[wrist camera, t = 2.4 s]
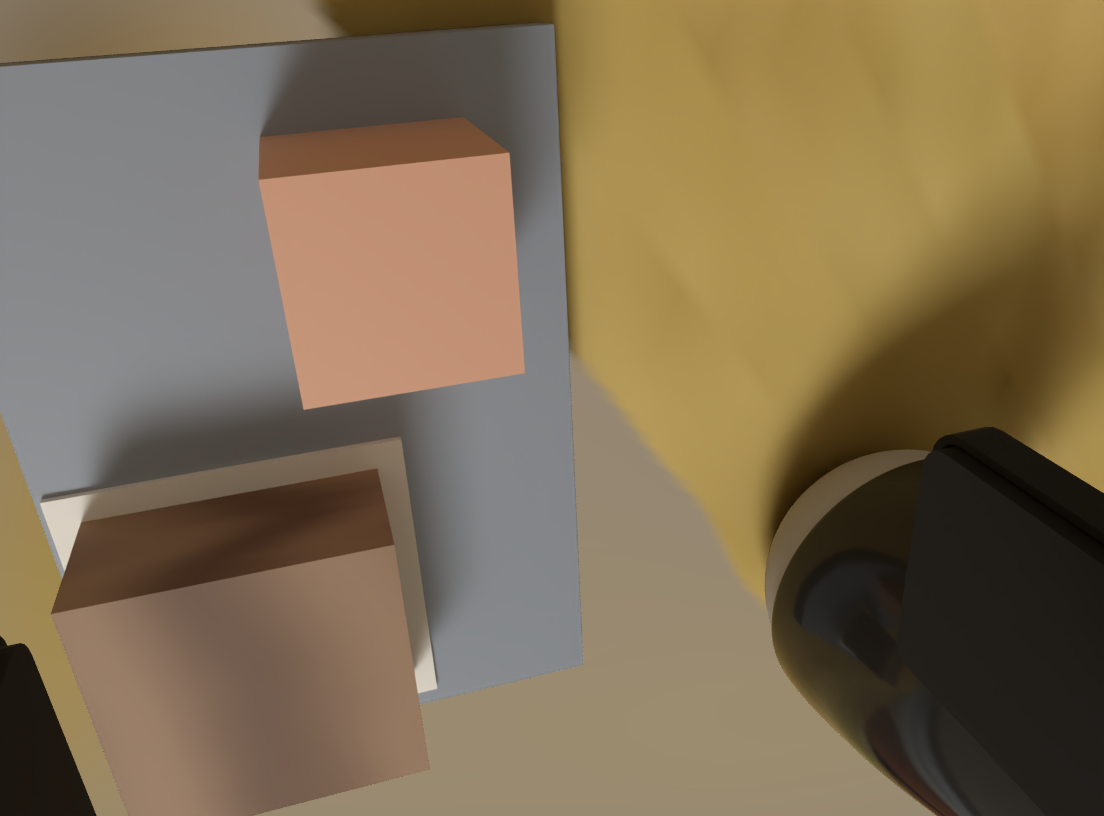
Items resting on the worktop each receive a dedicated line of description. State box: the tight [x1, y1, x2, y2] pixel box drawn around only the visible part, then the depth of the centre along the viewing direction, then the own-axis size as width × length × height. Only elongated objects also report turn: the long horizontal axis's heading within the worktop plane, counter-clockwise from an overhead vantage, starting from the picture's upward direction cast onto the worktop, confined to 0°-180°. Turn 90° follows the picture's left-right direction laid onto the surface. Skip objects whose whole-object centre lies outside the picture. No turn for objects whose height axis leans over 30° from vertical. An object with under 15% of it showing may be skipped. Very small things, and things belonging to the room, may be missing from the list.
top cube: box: [258, 117, 525, 410], centre depth 21 cm, size 5×5×5 cm
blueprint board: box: [0, 22, 583, 704], centre depth 26 cm, size 15×21×1 cm
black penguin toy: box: [765, 449, 1046, 816], centre depth 28 cm, size 10×10×15 cm
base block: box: [51, 469, 430, 816], centre depth 25 cm, size 8×8×4 cm
